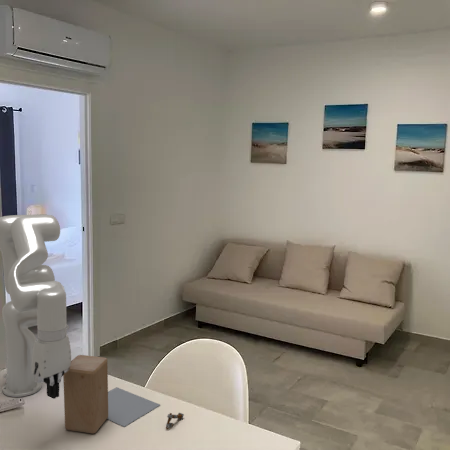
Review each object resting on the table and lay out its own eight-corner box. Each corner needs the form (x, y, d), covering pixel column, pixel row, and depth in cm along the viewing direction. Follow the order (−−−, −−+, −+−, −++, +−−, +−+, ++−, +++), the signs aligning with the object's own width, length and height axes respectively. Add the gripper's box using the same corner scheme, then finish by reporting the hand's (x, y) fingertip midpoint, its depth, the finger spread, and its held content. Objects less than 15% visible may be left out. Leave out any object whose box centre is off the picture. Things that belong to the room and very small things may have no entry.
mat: (79, 406, 162) (79, 406, 161) (116, 387, 175) (116, 387, 175) (124, 427, 151) (124, 426, 151) (160, 405, 164) (160, 404, 164)
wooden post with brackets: (162, 428, 150) (166, 412, 151) (175, 426, 156) (179, 411, 157) (167, 429, 149) (171, 414, 150) (180, 428, 156) (184, 413, 157)
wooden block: (95, 435, 146) (93, 371, 142) (63, 430, 148) (61, 367, 144) (109, 417, 155) (108, 356, 152) (80, 413, 157) (78, 353, 154)
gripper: (65, 323, 145) (66, 382, 148) (19, 338, 133) (21, 402, 135) (83, 329, 141) (83, 390, 144) (37, 344, 129) (38, 411, 131)
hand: (53, 396), depth 139 cm, fingers closed
